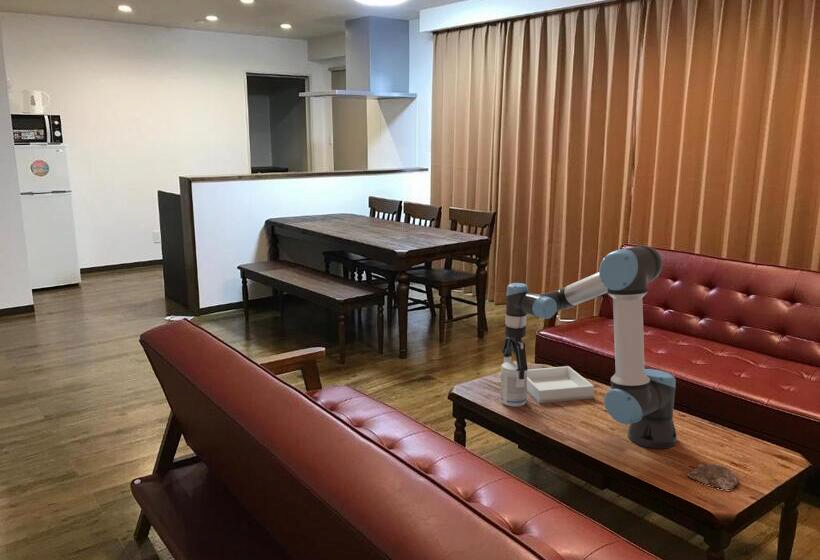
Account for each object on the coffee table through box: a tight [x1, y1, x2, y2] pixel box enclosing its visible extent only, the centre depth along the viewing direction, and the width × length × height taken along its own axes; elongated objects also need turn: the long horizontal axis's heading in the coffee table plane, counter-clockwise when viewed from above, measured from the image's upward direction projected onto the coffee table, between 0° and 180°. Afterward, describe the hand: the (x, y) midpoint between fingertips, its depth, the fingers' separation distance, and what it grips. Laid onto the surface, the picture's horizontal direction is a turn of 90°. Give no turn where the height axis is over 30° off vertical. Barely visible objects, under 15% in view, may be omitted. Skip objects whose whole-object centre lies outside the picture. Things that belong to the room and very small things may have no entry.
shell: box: [686, 463, 738, 490], centre depth 191 cm, size 12×13×4 cm
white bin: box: [527, 365, 595, 404], centre depth 257 cm, size 22×22×5 cm
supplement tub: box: [500, 360, 528, 408], centre depth 244 cm, size 10×10×15 cm
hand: (513, 379), depth 244 cm, fingers open, 13 cm apart
